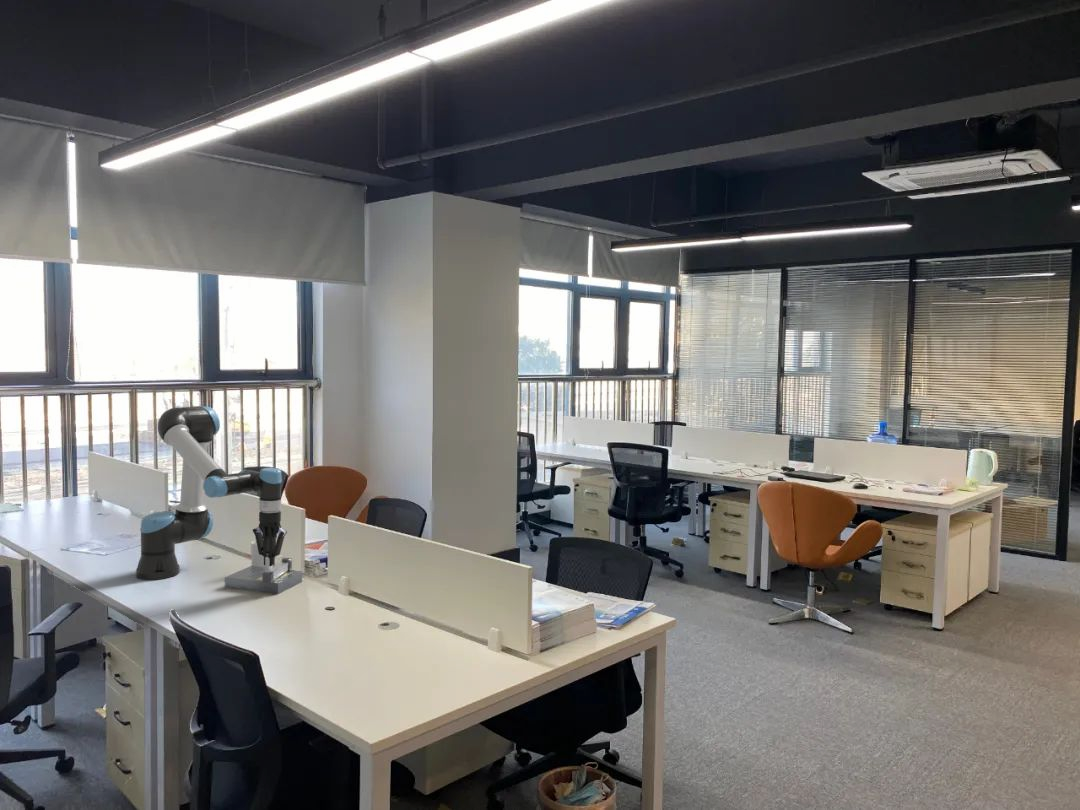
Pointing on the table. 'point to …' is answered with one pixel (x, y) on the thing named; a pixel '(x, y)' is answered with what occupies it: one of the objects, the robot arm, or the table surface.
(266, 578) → the cable arm
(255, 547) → the mug
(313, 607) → the table surface
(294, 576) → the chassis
